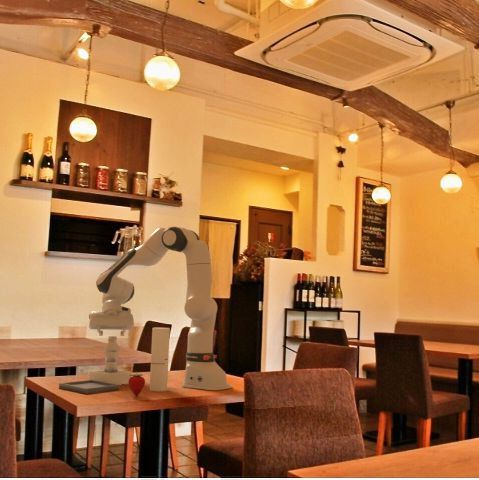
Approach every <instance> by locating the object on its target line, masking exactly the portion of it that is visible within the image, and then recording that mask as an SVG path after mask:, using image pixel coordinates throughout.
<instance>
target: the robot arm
mask: <svg viewBox="0 0 479 480" xmlns="http://www.w3.org/2000/svg"><path fill="white" fill-rule="evenodd" d="M169 250H170V251H174V252H179V253H183V254H184V255H185V262H186V280H187V281H186V282H187V284H186V294H185V303H184V313H185V314H186V316H187V317H188V318H190V319H191V320H190V321H191V322H190V327H189V331H188V333H187V350H186V353H185V361H186V363H185V364H186V365H185V371H184V375H183V381H182V384H181V385H182V387H183V388H189V389H198V390H207V391H221V390H228V389H232V388H233V385H232V384H229V383H228V381H227V379H228V378H227V377H228V376H227V373H226V371H224V370H223V368H222V367H220V366H219V365H218V363H217V362H216V359H217V358H218V357H217V356H218V355H217V354H214V352H213V345H214V344H213V343H214V330H215V326H216V325H215V324H216V318H217V313H218V304H217V302H216V301H215V299H214V298H213V297H211V291H212V284H213V283H212V282H213V275H212V274H213V273H212V262H211V254H210V249H209V245H208V244H207V243H206V241H203V240H201V239H200V237H199V235H198V233H196V232H195V231H194V230H190V229H186V228H185V227H177V226H170V227H168V228H166V227H159V228H157V229H155V231H154V232H152V233H151V234H150V235H149V236H148V237H147V239H146V240H145V241H144V242H143V243H142V244H141V245H140V246H138V247H136V248H131V249H128V250H127V251H125V253H123V255H122V256H121V257H120V258H119V259H118V260H116V261H115V262H114V263H113V264H112V265H111V266H110V267H109V268H107V269H106V270H105V271H103V272H102V273H101V274H99V276H98V278H97V279H96V282H95V283H96V288H97V291H99V292H100V293H102V297H101V298H102V300H101V301H102V307H101V310H102V311H101V312H100V311H92V312H90V313H89V314H88V319H89V326H88V327H89V329H90V330H96V332H97V333H98V334H99V336H100V337H102V336H103V335H104V331H103V330H108V331H109V330H111V331H112V330H116V331H117V330H118V331H120V337H124V336H125V333H126V332H127V331H132V330H133V329H134V328H135V327H134V326H135V321H134V317H133V314H132V313H131V312H132V311H131V308H130V307H126V306H122V305H125V304H126V303H128V302H129V301H130V300H132V299H133V297H134V295H135V286H134V284H133V283H132V282H131V281H129V280H126V279H124V278H122V277H120V276H118V275H119V274H120V273H122V272H123V271H124V270H125V269H127V267H129V266H136V265H137V266H145V267H151V266H155V265H157V264H158V263H159V262H160V261H161V260H162V259H163V257H164V256H165V255H166V254H167V252H168V251H169Z"/></svg>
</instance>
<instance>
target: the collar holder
mask: <svg viewBox="0 0 479 480" xmlns="http://www.w3.org/2000/svg"><path fill="white" fill-rule="evenodd" d="M117 372H118V373H111V374H107V373H104V369H100V370H99V369H97V370H90V371H89V380H97V381H102V382H108V383H113V384H118V385H120V386H123V385H122V384H124V385H129V379H130V377H132V376H130V375H132V371H128V370H121V369H117Z"/></svg>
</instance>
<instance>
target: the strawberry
mask: <svg viewBox="0 0 479 480" xmlns="http://www.w3.org/2000/svg"><path fill="white" fill-rule="evenodd" d="M135 371H136V373H134V374H131V375H130V376H131V377H130V379H129V384H128V387H129V389H130V390H131V392H132V393H133V395H134V396H135V397H138V396H139V395H140V393H142V390H143V389H144V388H145V386H146V385H145V384H146V379H145V378H144V377H143V376H144V374H142V373H141V374H140V373H139V374H138V371H137V370H135Z"/></svg>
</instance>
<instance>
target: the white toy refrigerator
mask: <svg viewBox="0 0 479 480" xmlns="http://www.w3.org/2000/svg"><path fill="white" fill-rule="evenodd" d="M170 330H171V329H170V327H152V331H151V348H150V353H151V354H150V374H149V390H148V391H151V392H166V391H168V380H169V377H168V376H169V352H170V334H171V333H170Z"/></svg>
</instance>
